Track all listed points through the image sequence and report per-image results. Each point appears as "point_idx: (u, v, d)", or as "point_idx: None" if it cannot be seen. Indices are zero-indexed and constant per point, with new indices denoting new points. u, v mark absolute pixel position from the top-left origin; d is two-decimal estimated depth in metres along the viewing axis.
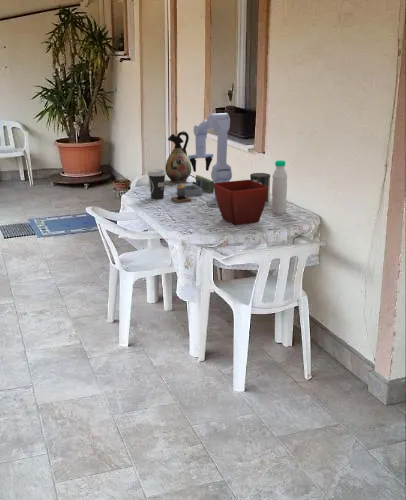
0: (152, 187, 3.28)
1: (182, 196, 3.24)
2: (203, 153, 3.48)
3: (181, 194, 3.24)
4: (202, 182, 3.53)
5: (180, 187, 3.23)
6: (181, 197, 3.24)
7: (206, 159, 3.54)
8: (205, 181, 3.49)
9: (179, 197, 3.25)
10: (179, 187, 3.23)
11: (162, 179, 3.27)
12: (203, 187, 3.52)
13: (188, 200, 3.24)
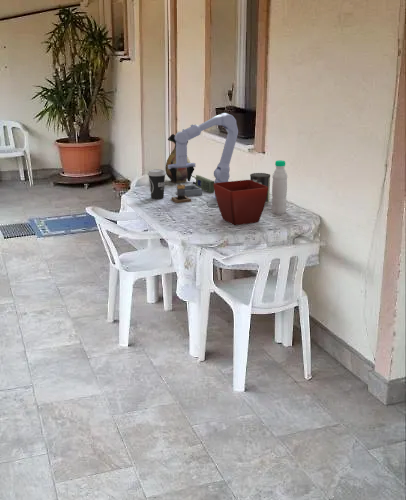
0: (152, 187, 3.28)
1: (182, 196, 3.24)
2: (184, 162, 3.20)
3: (181, 194, 3.24)
4: (202, 182, 3.53)
5: (180, 187, 3.23)
6: (181, 197, 3.24)
7: (188, 169, 3.25)
8: (205, 181, 3.49)
9: (179, 197, 3.25)
10: (179, 187, 3.23)
11: (162, 179, 3.27)
12: (203, 187, 3.52)
13: (188, 200, 3.24)
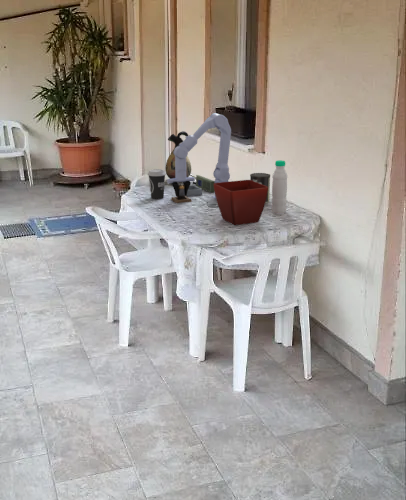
0: (152, 187, 3.28)
1: (182, 196, 3.24)
2: (183, 177, 3.21)
3: (181, 194, 3.24)
4: (203, 182, 3.53)
5: (180, 187, 3.23)
6: (181, 197, 3.24)
7: (184, 183, 3.26)
8: (206, 181, 3.50)
9: (179, 197, 3.25)
10: (179, 187, 3.23)
11: (162, 179, 3.27)
12: (204, 187, 3.53)
13: (188, 200, 3.24)
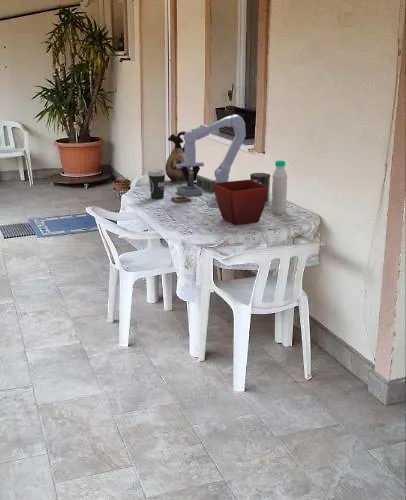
0: (152, 187, 3.28)
1: (191, 181, 3.26)
2: (193, 162, 3.23)
3: (190, 179, 3.26)
4: (203, 182, 3.53)
5: (189, 172, 3.25)
6: (190, 182, 3.26)
7: (193, 168, 3.28)
8: (207, 181, 3.50)
9: (188, 182, 3.27)
10: (188, 172, 3.25)
11: (162, 179, 3.27)
12: (204, 187, 3.53)
13: (188, 200, 3.24)
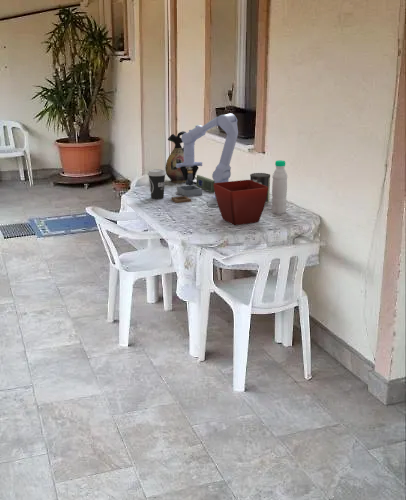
0: (152, 187, 3.28)
1: (190, 180, 3.39)
2: (191, 161, 3.35)
3: (189, 178, 3.38)
4: (204, 182, 3.53)
5: (188, 172, 3.37)
6: (189, 181, 3.39)
7: (192, 168, 3.40)
8: (207, 181, 3.50)
9: (187, 181, 3.39)
10: (187, 172, 3.37)
11: (162, 179, 3.27)
12: (205, 187, 3.53)
13: (188, 200, 3.24)
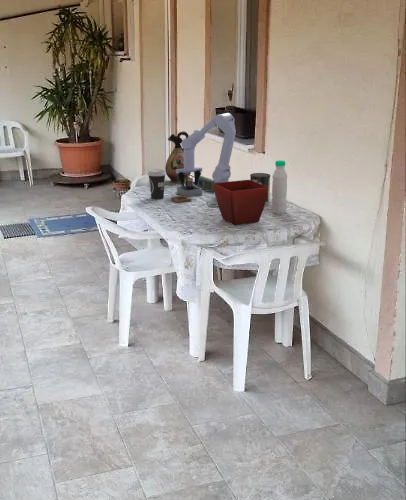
0: (152, 187, 3.28)
1: (190, 188, 3.40)
2: (191, 167, 3.36)
3: (188, 187, 3.40)
4: (204, 182, 3.53)
5: (188, 180, 3.39)
6: (189, 189, 3.40)
7: (195, 173, 3.42)
8: (207, 181, 3.50)
9: (187, 189, 3.41)
10: (187, 180, 3.39)
11: (162, 179, 3.27)
12: (205, 187, 3.53)
13: (188, 200, 3.24)
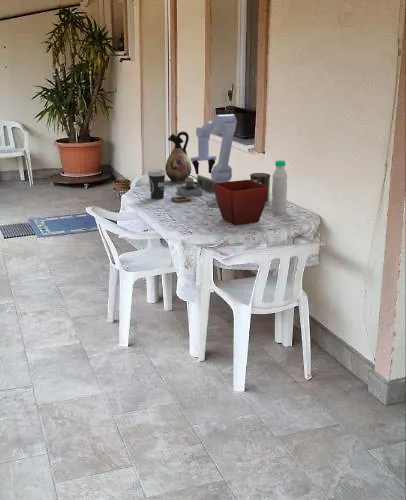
0: (152, 187, 3.28)
1: (190, 189, 3.40)
2: (206, 155, 3.42)
3: (189, 187, 3.40)
4: (204, 182, 3.53)
5: (188, 180, 3.39)
6: None
7: (209, 161, 3.47)
8: (208, 181, 3.50)
9: None
10: (187, 180, 3.39)
11: (162, 179, 3.27)
12: (206, 187, 3.53)
13: (188, 200, 3.24)
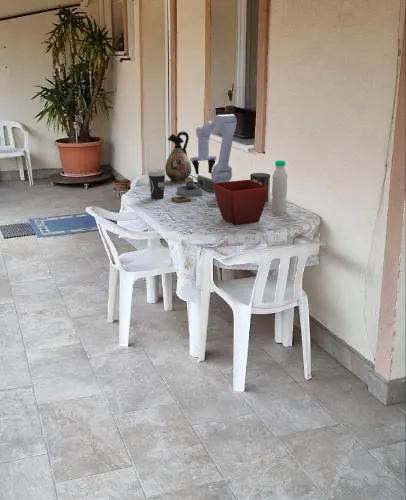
0: (152, 187, 3.28)
1: (190, 189, 3.40)
2: (206, 155, 3.42)
3: (189, 187, 3.40)
4: (205, 182, 3.53)
5: (188, 180, 3.39)
6: None
7: (209, 161, 3.47)
8: (208, 181, 3.50)
9: None
10: (187, 180, 3.39)
11: (162, 179, 3.27)
12: (206, 187, 3.53)
13: (188, 200, 3.24)
